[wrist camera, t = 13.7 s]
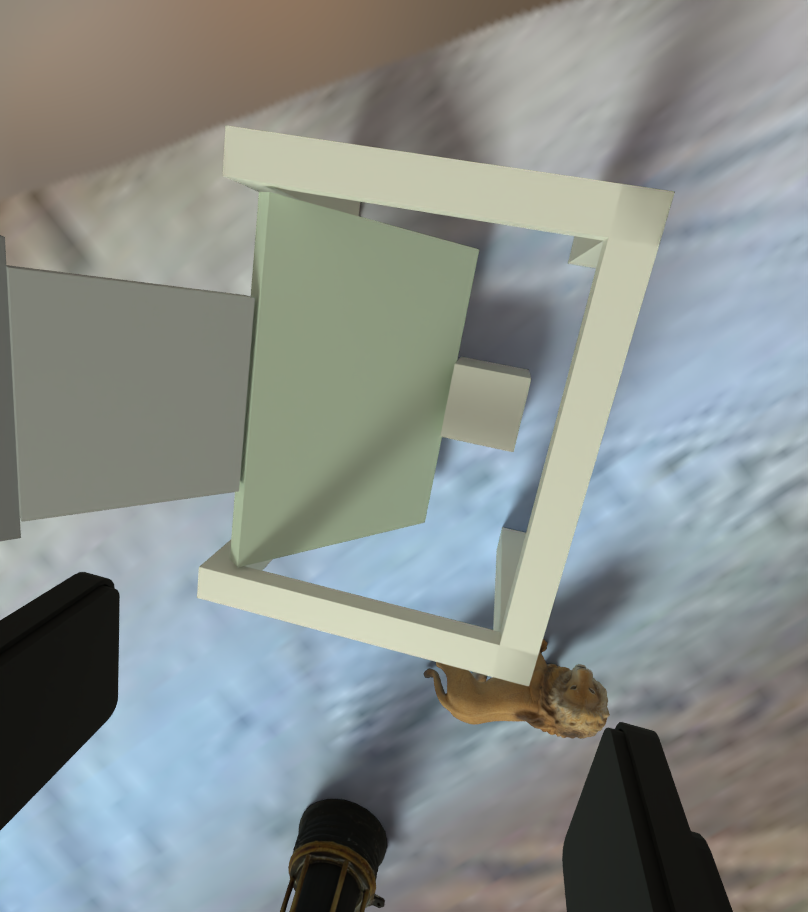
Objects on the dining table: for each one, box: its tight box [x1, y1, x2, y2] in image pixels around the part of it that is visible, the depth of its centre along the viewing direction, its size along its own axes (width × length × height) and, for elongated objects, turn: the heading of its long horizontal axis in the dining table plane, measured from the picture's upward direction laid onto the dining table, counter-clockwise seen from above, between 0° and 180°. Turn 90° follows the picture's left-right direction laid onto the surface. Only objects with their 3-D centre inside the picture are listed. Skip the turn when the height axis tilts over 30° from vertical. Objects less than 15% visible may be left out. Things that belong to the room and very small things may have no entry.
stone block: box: [440, 357, 531, 452], centre depth 38 cm, size 5×5×5 cm
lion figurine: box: [424, 639, 610, 739], centre depth 42 cm, size 15×5×9 cm, turn 109°
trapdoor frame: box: [197, 126, 675, 686], centre depth 33 cm, size 19×24×16 cm
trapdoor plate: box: [0, 192, 479, 567], centre depth 29 cm, size 29×19×4 cm
